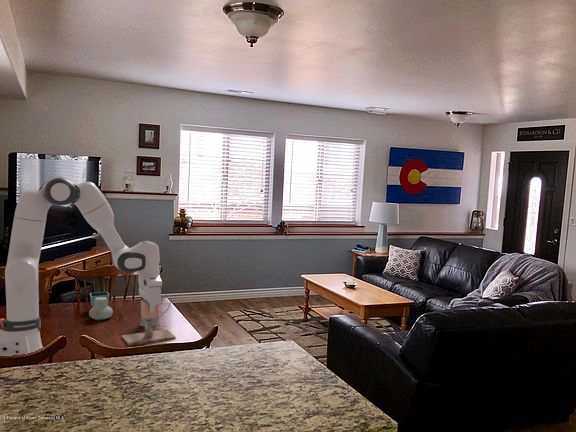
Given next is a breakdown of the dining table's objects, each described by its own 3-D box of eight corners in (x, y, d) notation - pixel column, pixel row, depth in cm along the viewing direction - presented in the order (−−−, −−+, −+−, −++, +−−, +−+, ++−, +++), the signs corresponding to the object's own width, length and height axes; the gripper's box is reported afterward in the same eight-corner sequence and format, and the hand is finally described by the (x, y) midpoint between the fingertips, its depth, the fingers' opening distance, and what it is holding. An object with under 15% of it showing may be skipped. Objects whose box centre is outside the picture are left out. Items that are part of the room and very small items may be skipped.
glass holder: (139, 322, 243) (139, 291, 242) (169, 320, 248) (170, 289, 247) (140, 327, 235) (140, 295, 234) (171, 325, 240) (172, 293, 239)
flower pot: (89, 309, 263) (89, 292, 262) (107, 308, 267) (107, 291, 266) (90, 314, 255) (90, 296, 254) (109, 312, 259) (109, 295, 258)
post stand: (128, 345, 210) (128, 326, 209) (121, 337, 220) (121, 319, 219) (175, 338, 220) (175, 320, 219) (166, 331, 230) (167, 314, 230)
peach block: (144, 318, 215) (144, 303, 215) (141, 315, 220) (141, 300, 220) (157, 316, 218) (157, 301, 218) (153, 313, 223) (153, 298, 223)
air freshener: (115, 317, 250) (115, 297, 250) (105, 321, 242) (105, 301, 242) (96, 315, 253) (96, 295, 252) (85, 319, 245) (85, 299, 244)
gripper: (135, 274, 225) (135, 305, 226) (148, 283, 208) (148, 317, 209) (149, 273, 228) (149, 303, 229) (163, 282, 211) (163, 315, 212)
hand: (149, 310), depth 219 cm, fingers closed on peach block, 6 cm apart
